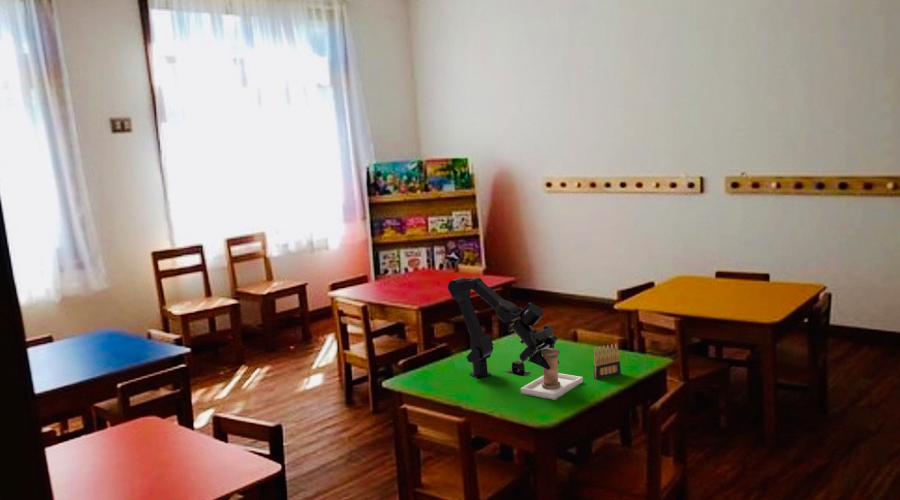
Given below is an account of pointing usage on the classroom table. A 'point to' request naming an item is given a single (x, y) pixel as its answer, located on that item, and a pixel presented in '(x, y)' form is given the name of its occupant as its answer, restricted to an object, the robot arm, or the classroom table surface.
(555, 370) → the brown wooden spool
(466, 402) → the classroom table surface
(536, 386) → the white rectangular tray
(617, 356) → the ammunition clip
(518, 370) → the black holed block
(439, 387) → the classroom table surface
